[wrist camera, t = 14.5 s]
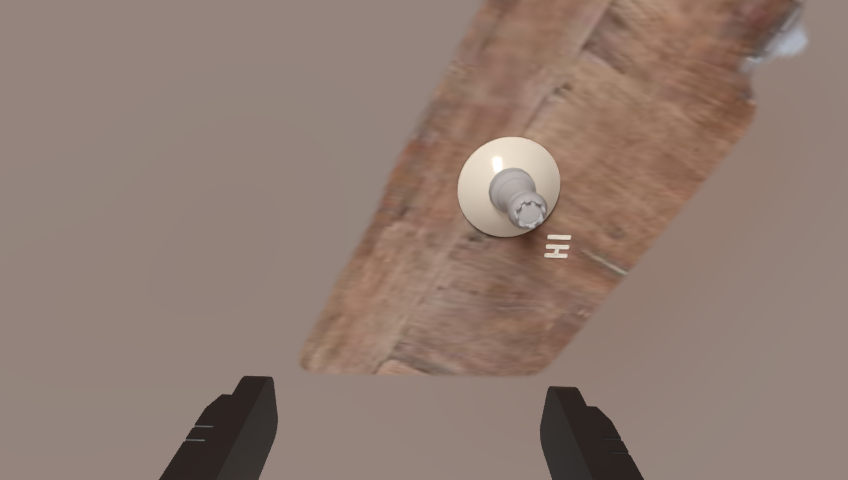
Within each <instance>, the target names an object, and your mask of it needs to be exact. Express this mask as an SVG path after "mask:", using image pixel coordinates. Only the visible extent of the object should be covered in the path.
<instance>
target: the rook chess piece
mask: <svg viewBox="0 0 848 480" xmlns="http://www.w3.org/2000/svg"><path fill="white" fill-rule="evenodd" d="M488 192H489V197H490V201H491V202H492V203H493V205H494V206H495V207H496V208H497V209H498V210H500V211H501V212H503V213H505V214H508V217H509V220H510V222H511V223H512V224H513V225H514V226H515V227H517V228H519V229H524V230H528V229H535V228H536V227H537V226H538V225H540V224H542V223H543V222H544V220H545V218H546V215H547V211H548V208H547V202H546V201H545V199H544V198H543V197H542V196H541V195H539V194H538V193H536V187H535V182H534V181H533V179H532V178H531V176H530V175H529V173H527V172H526V171H524V170H522V169H520V168H513V167H512V168H508V169H504V170H502V171H500V172H499V173H498V174H496V175H495V176H494V178H493V179H492V181H491V182H490V186H489V191H488Z"/></svg>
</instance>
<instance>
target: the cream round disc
mask: <svg viewBox="0 0 848 480" xmlns="http://www.w3.org/2000/svg"><path fill="white" fill-rule="evenodd" d="M512 167H513V168H520V169H522V170H524V171H526V172H527V173H529V175H530V176H531V178H532V179H533V181H534V182H535V187H536V193H538V194H539V195H541V196H542V197H543V198H544V199H545V201H546V202H547V208H548V211H547V215H546V218H547V217H548V216H549V214H550V213H551V211H552V210H553V208H554V206H555V204H556V202H557V199H558V196H559V191H560V176H559V171H558V168H557V165H556V163H555V161H554V159H553V158H552V156H551V155H550V154H549V153H548V151H547V150H546V149H544V148H543V147H542V146H540V145H539V144H537V143H535V142H534V141H531V140H529V139H526V138H522V137H515V136H510V137H501V138H497V139H494V140H492V141H489V142H487V143H485V144H484V145H482V146H480V147H479V148H478V149H477V150H475V151H474V152H473V153H472V154H471V155H470V157H469V158H468V159H467V161H466V162H465V164H464V166H463V168H462V170H461V172H460V175H459V179H458V185H457V193H458V200H459V203H460V207H461V209H462V211H463V213H464V215H465V217H466V218H467V219H468V220H469V222H470V223H471V224H472V225H473V226H475V227H476V228H477V229H479V230H481V231H482V232H484V233H487V234H490V235H493V236H499V237H511V236H517V235H521V234H524V233H526V232H528V231H530V230H532V229H528V230H524V229H519V228H517V227H515V226H514V225H513V224H512V223H511V222H510V220H509V217H508V214H505V213H503V212H501V211H500V210H498V209H497V208H496V207H495V206H494V205H493V203H492V202H491V201H490V197H489V192H488V191H489V186H490V182H491V181H492V179H493V178H494V176H495V175H496V174H498V173H499V172H500V171H502V170H504V169H508V168H512ZM546 218H545V219H546Z"/></svg>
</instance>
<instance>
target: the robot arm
mask: <svg viewBox="0 0 848 480" xmlns="http://www.w3.org/2000/svg"><path fill="white" fill-rule="evenodd" d="M277 423H278V415H277V406H276V399H275V389H274V381H273V378H272V377H265V376H244V377H243V378H242V379H241V380H240V382H239V384H238V385H237V387H236V389H235V391H234V392H233V394H232V395H225V394H222V395H221V396H219V397H218V398H217V399H216V400H215V401H214V402H212V403H211V404H210V405H209V406H207V407H206V408H205V410H204V411H203V413H202V414H201V416H200V417H199V419H198V420H197V422H196V423H195V427H194V428H192V430H191V431H190V433H189V434H188V436H187V437H186V441H185V442H183V443H182V445H181V447H180V448H179V450H178V451H177V453H176V454H175V456H174V457H173V459H172V460H171V462H170V464H169V465H168V467H167V468H166V470H165V471H164V473H163V475H162V476H161V477H160V479H159V480H258V479H259V476H260V474H261V472H262V469H263V466H264V464H265V461H266V459H267V457H268V454H269V452H270V449H271V447H272V444H273V442H274V439H275V435H276V431H277ZM540 439H541V445H542V449H543V452H544V456H545V459H546V461H547V465H548V468H549V471H550V474H551V477H552V480H644V479H643V477H642V476H641V474H640V472H639V470H638V468H637V466H636V464H635V463H634V461H633V459H632V457H631V456H630V455H629V454H628V450H627V448H626V446H625V445H624V443H623V441H621V437H620V436H619V434H618V432H617V430H616V428H615V426H614V425H613V423H612V421H611V420H610V419H609V418H608V417H606V415H605V414H604V413H603V412H602V411H600V410H599V409H598V408H597V407H592V406H591V407H590V406H587V405H586V403H585V401H584V399H583V397H582V395H581V393H580V391H579V390H578V388H576V387H557V386H550V387H549V388H548V391H547V396H546V400H545V405H544V410H543V415H542V420H541V425H540Z"/></svg>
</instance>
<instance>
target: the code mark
mask: <svg viewBox="0 0 848 480" xmlns="http://www.w3.org/2000/svg"><path fill="white" fill-rule="evenodd" d="M547 239H563V240H570V239H571V236H570V235H548V237H547ZM546 249H555V251H554V253H545V255H544V257H551V258H567V254H558V252H559V249H569V245H549V244H546Z"/></svg>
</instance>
